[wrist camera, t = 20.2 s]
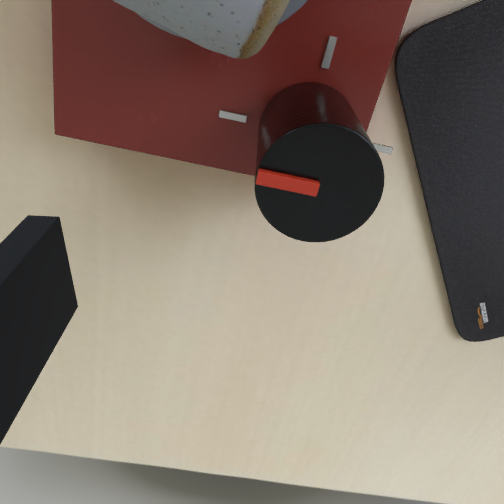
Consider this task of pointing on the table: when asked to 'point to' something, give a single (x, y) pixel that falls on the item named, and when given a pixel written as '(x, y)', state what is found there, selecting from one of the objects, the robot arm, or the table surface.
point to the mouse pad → (461, 154)
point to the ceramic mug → (216, 21)
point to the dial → (315, 165)
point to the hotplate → (209, 77)
